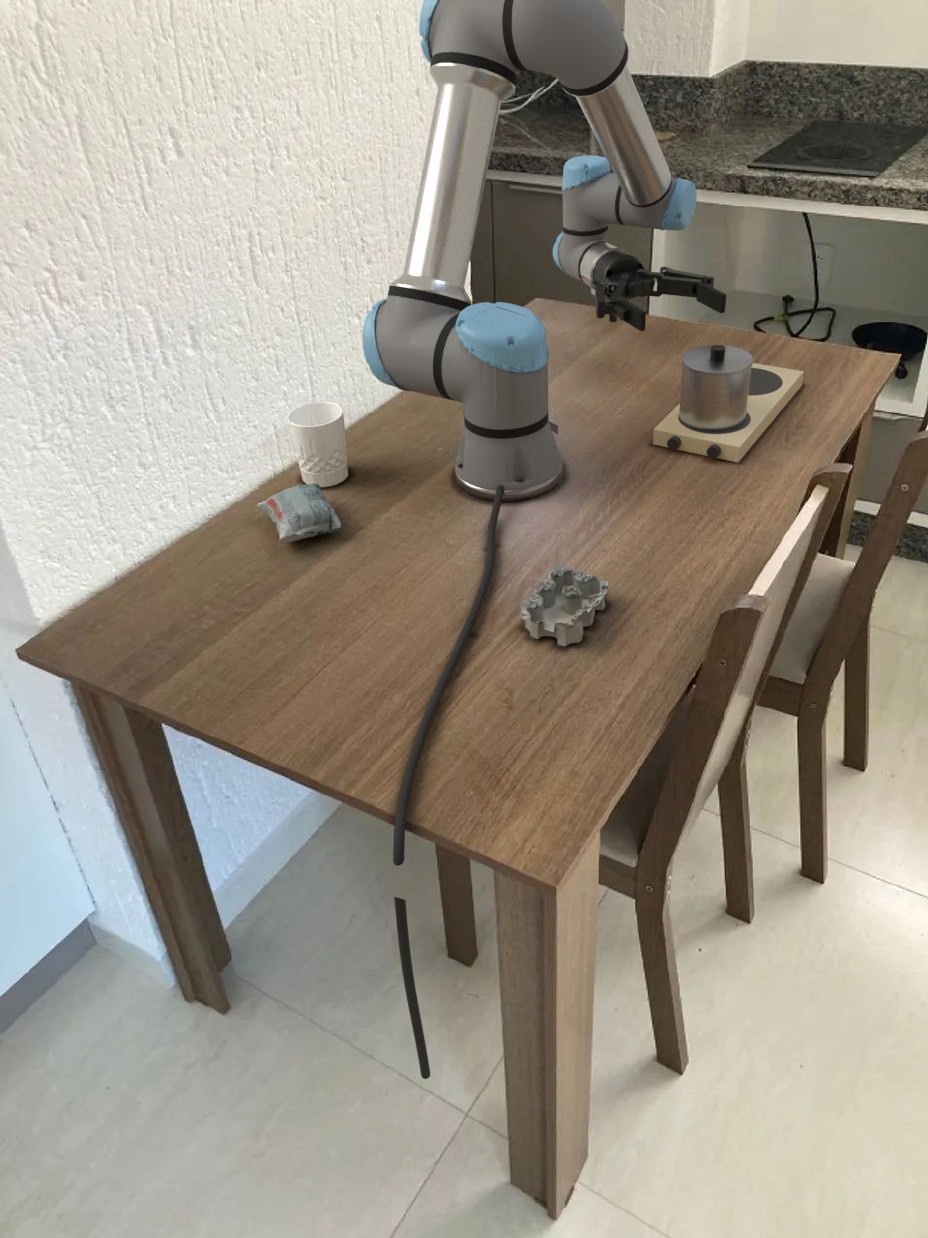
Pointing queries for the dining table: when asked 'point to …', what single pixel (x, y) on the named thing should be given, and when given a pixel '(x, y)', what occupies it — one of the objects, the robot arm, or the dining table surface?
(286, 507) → the packaged food
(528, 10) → the robot arm
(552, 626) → the egg carton
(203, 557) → the dining table surface
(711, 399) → the pot
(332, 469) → the white cup
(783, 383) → the hot plate
